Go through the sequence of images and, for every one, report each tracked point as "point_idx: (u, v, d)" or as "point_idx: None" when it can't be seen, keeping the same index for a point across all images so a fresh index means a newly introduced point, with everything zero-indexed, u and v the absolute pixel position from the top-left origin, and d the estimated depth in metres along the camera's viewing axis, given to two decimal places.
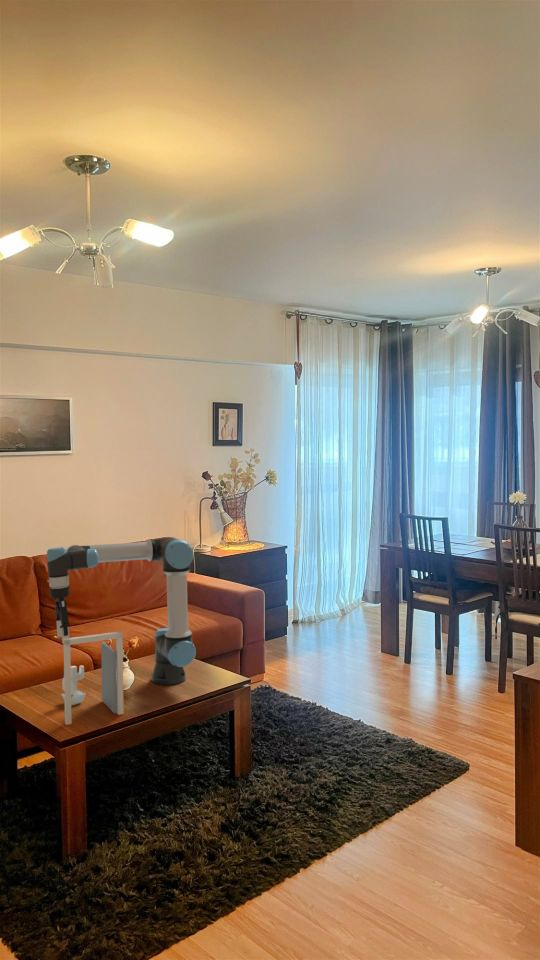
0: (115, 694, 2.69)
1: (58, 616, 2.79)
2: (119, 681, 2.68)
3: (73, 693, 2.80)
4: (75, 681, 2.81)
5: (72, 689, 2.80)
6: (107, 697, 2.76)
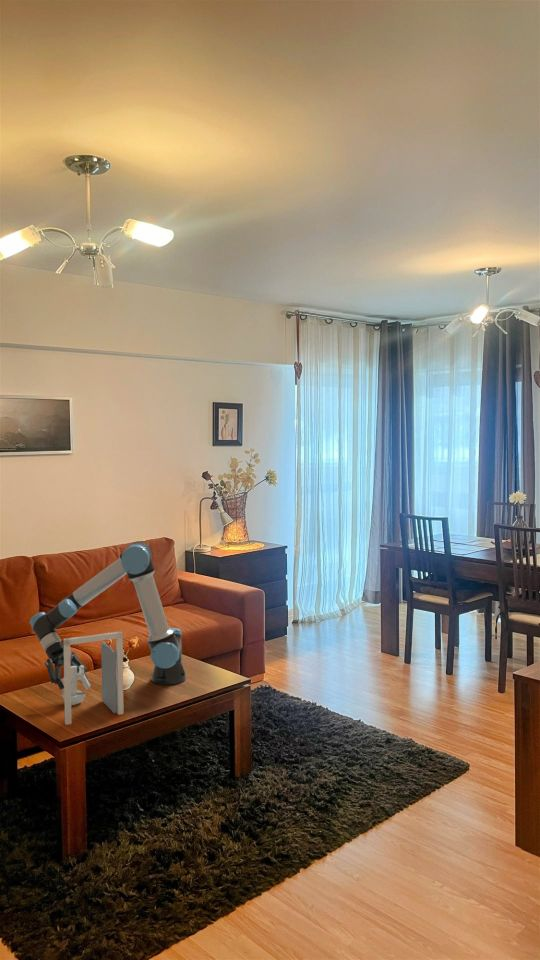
0: (115, 694, 2.69)
1: None
2: (119, 681, 2.68)
3: (73, 693, 2.80)
4: (75, 681, 2.81)
5: (72, 689, 2.80)
6: (107, 697, 2.76)
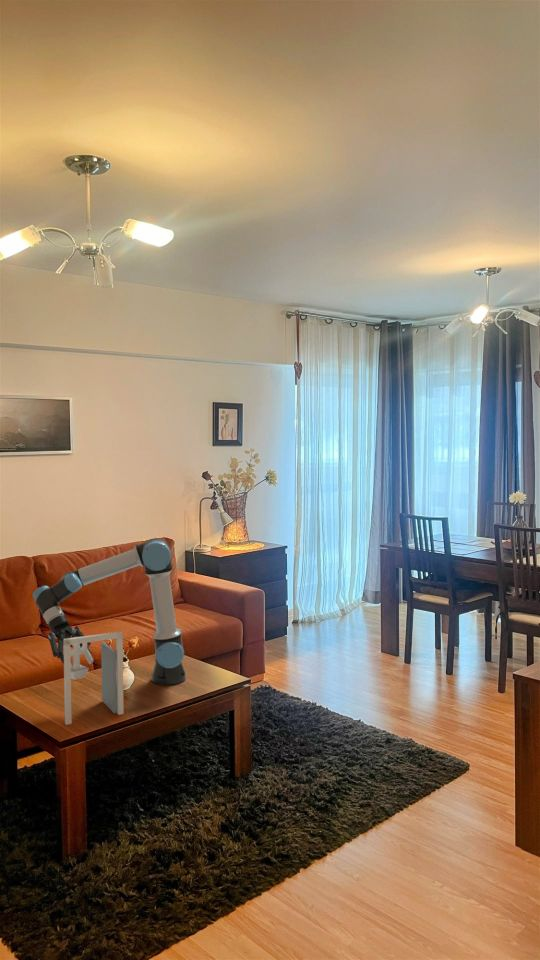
0: (115, 694, 2.69)
1: None
2: (119, 681, 2.68)
3: (76, 667, 2.74)
4: (78, 655, 2.75)
5: (75, 663, 2.74)
6: (107, 697, 2.76)
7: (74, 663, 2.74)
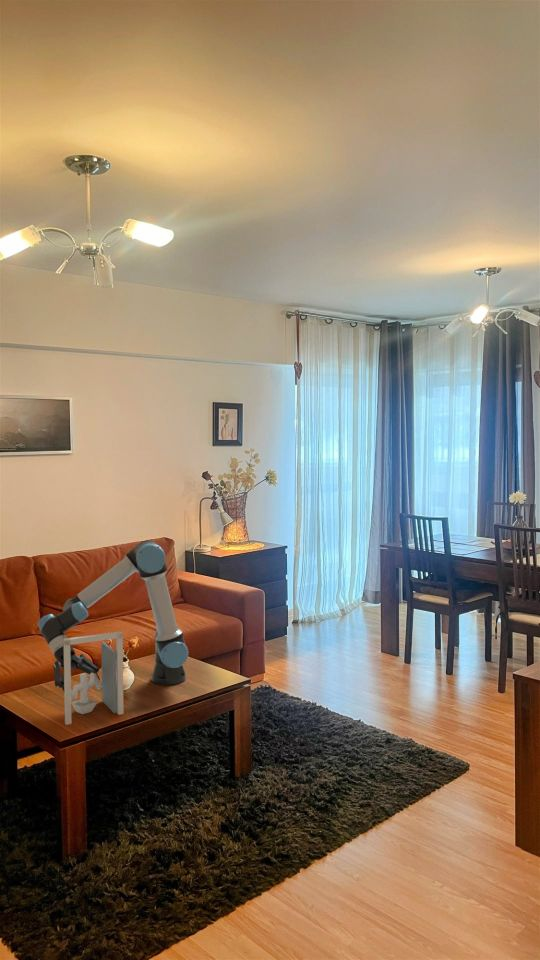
0: (115, 694, 2.69)
1: (88, 672, 2.78)
2: (119, 681, 2.68)
3: (83, 701, 2.71)
4: (86, 689, 2.71)
5: (82, 697, 2.71)
6: (107, 697, 2.76)
7: (82, 697, 2.71)
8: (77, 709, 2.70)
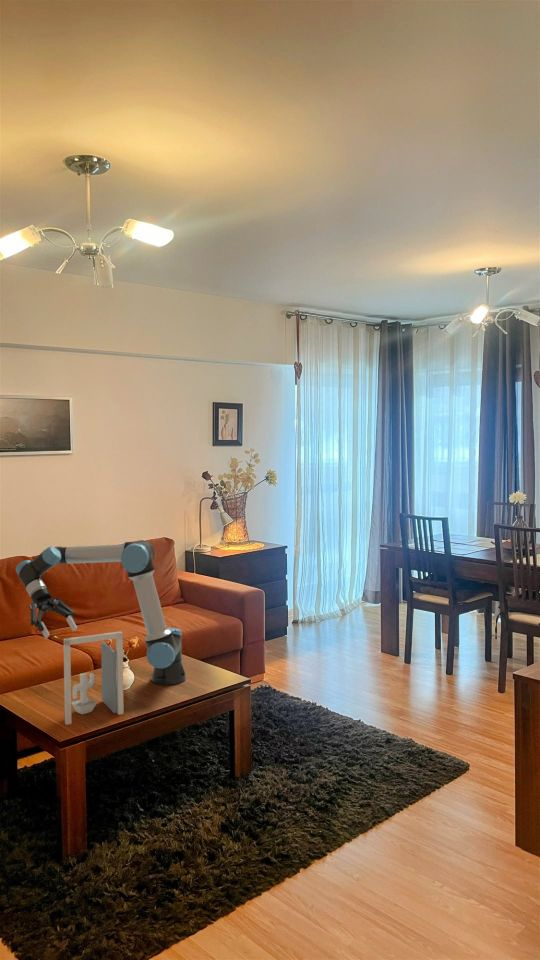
0: (115, 694, 2.69)
1: (63, 614, 2.93)
2: (119, 681, 2.68)
3: (83, 702, 2.71)
4: (85, 689, 2.71)
5: (82, 697, 2.71)
6: (107, 697, 2.76)
7: (82, 697, 2.71)
8: (77, 709, 2.70)
